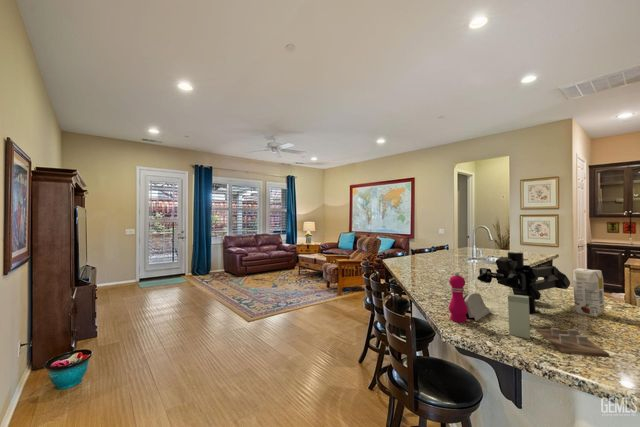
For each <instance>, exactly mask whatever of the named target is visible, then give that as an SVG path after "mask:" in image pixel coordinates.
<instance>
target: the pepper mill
mask: <svg viewBox="0 0 640 427" xmlns="http://www.w3.org/2000/svg"><path fill="white" fill-rule="evenodd" d="M448 281H449V282H448V283H449V285H450V291H451V294H452V295H451V300H450V302H449V304H448V311H449V312H450V314H449V317H450V320H451V321H453V322H456V323H466V322H467V321H468V318H467V316H465V315H466V314H467V313H468V308H467V305H466V303H465V301H464V298H463V296H464V292H465V287H464V286H465V285H466V281H465V278H464V277H463V276H461V275H460V272H458V271H455V272H454V275H452V276H451V277H450V278H449V280H448Z"/></svg>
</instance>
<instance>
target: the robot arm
mask: <svg viewBox="0 0 640 427" xmlns="http://www.w3.org/2000/svg"><path fill="white" fill-rule="evenodd" d="M495 264H496V267H497V268H496V269H495V272H492V269H491V268H487V267H479V270H478V271H479V272H478V273H479V275H478V276H477V280H478V281H480V283H483V284H484V283H485V284H490V283H492V281H493V279H496V281H497V284H498V285H501V286H504V287H506V288H507V287H508V288H510V289H512V292H513V295H522V296H529V315H531V314H536V313H540V310H538V309H536V301H540V299H541V295H542V294H541V293H540V291H545V290H549V289H561V290H567V289H569V287H570V285H571V281H570V279H569V278H568V276H567V275H566V274H564V273H563V272H561V271H560V269H558V267H556V266H550V265H545V266H539V267H532V266H531V265H528V264H524V252H516V251H515V252H514V251H513V252H512V251H508V252H507V257H502V256H501V257H499V258H497V259H495ZM539 278H543V279H539Z"/></svg>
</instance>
